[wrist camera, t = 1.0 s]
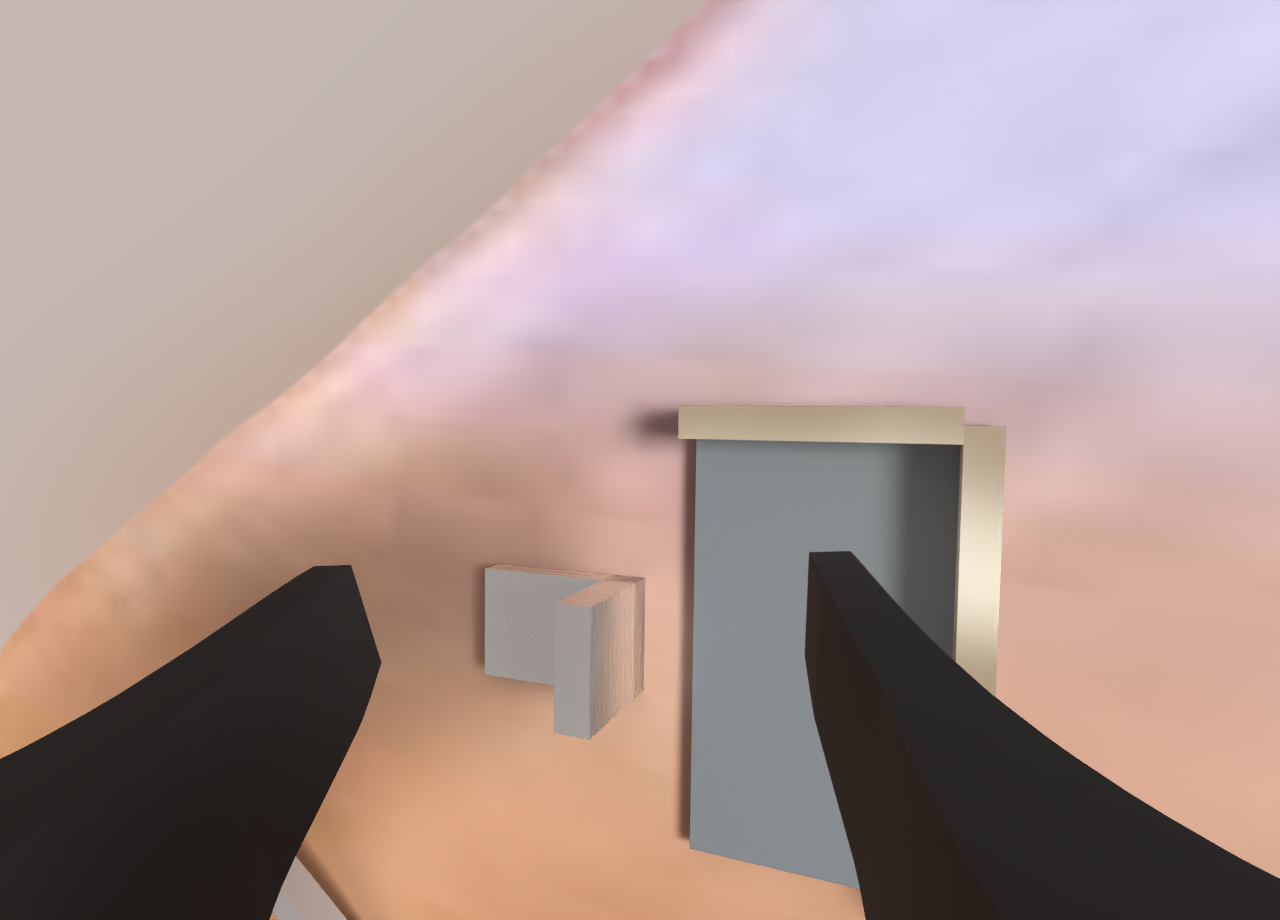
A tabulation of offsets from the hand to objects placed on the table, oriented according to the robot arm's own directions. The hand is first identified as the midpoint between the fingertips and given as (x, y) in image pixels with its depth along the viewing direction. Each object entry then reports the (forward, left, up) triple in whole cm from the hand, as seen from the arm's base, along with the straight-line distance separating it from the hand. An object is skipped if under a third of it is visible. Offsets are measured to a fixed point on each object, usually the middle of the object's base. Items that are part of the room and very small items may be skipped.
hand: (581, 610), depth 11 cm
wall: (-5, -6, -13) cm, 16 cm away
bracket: (-5, +7, -14) cm, 16 cm away
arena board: (-5, -2, -13) cm, 14 cm away
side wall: (+3, -2, -13) cm, 14 cm away
